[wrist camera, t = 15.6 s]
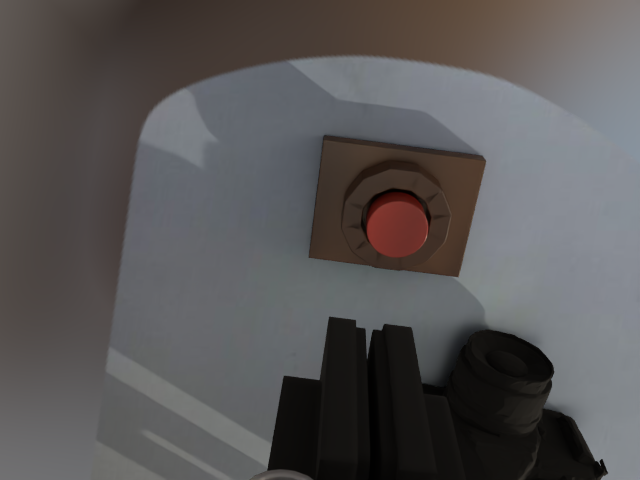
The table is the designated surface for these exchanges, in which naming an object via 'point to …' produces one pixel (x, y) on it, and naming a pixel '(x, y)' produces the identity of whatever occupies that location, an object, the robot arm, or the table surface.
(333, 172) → the button block
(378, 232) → the button
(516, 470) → the film camera
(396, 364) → the robot arm
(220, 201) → the table surface
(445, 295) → the table surface
